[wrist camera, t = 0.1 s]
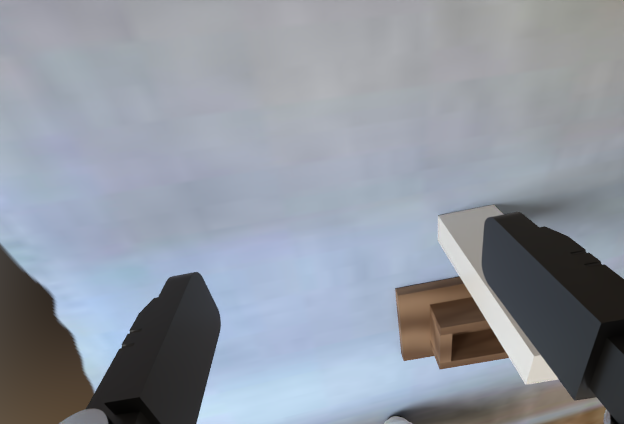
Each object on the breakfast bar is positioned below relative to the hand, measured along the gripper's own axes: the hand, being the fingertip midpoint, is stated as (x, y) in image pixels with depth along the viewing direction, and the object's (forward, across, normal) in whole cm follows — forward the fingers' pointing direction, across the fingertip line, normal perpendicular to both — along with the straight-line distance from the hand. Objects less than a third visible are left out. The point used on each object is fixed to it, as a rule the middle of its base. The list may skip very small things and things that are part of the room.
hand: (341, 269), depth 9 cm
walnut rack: (+19, -13, +26) cm, 34 cm away
